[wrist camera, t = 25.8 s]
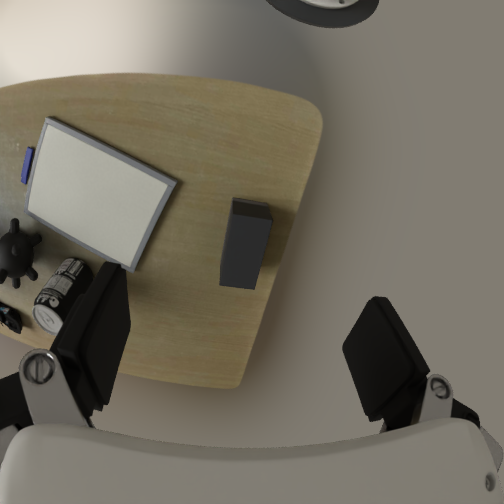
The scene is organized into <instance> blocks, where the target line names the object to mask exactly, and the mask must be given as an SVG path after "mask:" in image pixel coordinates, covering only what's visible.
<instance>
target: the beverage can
mask: <svg viewBox="0 0 504 504" xmlns="http://www.w3.org/2000/svg"><path fill="white" fill-rule="evenodd" d="M92 281H93V275H92V272H91V270H90V268H89V267H88V266H87V264H86V263H84V262H83V261H81V260H79V259H75V258H68V259H66V260H64V261H63V262H62V264H61V265H60V266H59V268H58V269H57V270H56V271H55V273H54V274H53V275H52V277H51V278H50V279H49V281H48V282H47V283H46V285H45V286H44V288H43V289H42V290H41V292H40V293H39V295H38V296H37V297H36V299H35V302H34V307H33V309H32V315H33V318H34V320H35V321H36V323H37V324H38V325H39V326H40V327H41V328H42V329H43V330H44V331H46V332H47V333H49V334H51V335H55V336H57V334H58V332H59V330H60V328H61V326H62V324H63V323H64V321H65V319H66V317H67V315H68V313H69V312H70V310H71V308H72V306H73V305H74V303H75V301H76V299H77V298H78V296H79V295H80V294H85V293H86V292H87V290H88V288H89V286H90V285H91V283H92Z"/></svg>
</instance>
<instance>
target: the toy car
mask: <svg viewBox="0 0 504 504" xmlns="http://www.w3.org/2000/svg"><path fill="white" fill-rule="evenodd" d="M0 321H1V322H0V323H1V324H2V323H4V324H5V325H6V326H8V327H9V329H10V330H13V331H14V332H16V333H18V334H21V330H22V327H23V326H22V323H21V320H20V316H19V315H18V313H16V310H14V309H12V310H11V308H9V307H7V306H4V305H2V304H1V303H0ZM2 326H3V324H2Z"/></svg>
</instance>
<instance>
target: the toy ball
mask: <svg viewBox="0 0 504 504" xmlns="http://www.w3.org/2000/svg"><path fill="white" fill-rule="evenodd" d="M41 241H42V237H41V235H40V234H36V235H34V236H33V237H31V238H30V239H29V238H28V237H27V236H26V235H25V234H23V233H21V232H19V220H18V219H17V218H13V219H12V220H11V222H10V230H9V232H8V233H6V234H5V235H4V236H2V237H1V239H0V284H3V282H4V281H5V279H6V277H7V276H8V277H10V278H12V285H13V287H14V288H15V289H17V288H19V287H20V277H22V276H24V275H25V274H26V275H27V276H28V277H29V278H30V279H31V280H32V281H35V280H36V279H37V278H38V273H37V272H36V271H35V270H34V269H33V268H32V264H33V260H34V249H33V247H34V246H36V245H37V244H39V243H40V242H41Z"/></svg>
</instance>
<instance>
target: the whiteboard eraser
mask: <svg viewBox="0 0 504 504" xmlns="http://www.w3.org/2000/svg"><path fill="white" fill-rule="evenodd" d="M272 222H273V219H272V216H271V213H270V210H269V207H268V204H267V203H262V202H257V201H251V200H245V199H239V198H232V203H231V208H230V213H229V218H228V224H227V229H226V234H225V240H224V246H223V251H222V257H221V263H220V284H219V285H221V286H228V287H236V288H244V289H252V290H254V289H255V286H256V282H257V279H258V275H259V271H260V267H261V264H262V260H263V256H264V253H265V249H266V245H267V241H268V238H269V234H270V230H271V226H272Z"/></svg>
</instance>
